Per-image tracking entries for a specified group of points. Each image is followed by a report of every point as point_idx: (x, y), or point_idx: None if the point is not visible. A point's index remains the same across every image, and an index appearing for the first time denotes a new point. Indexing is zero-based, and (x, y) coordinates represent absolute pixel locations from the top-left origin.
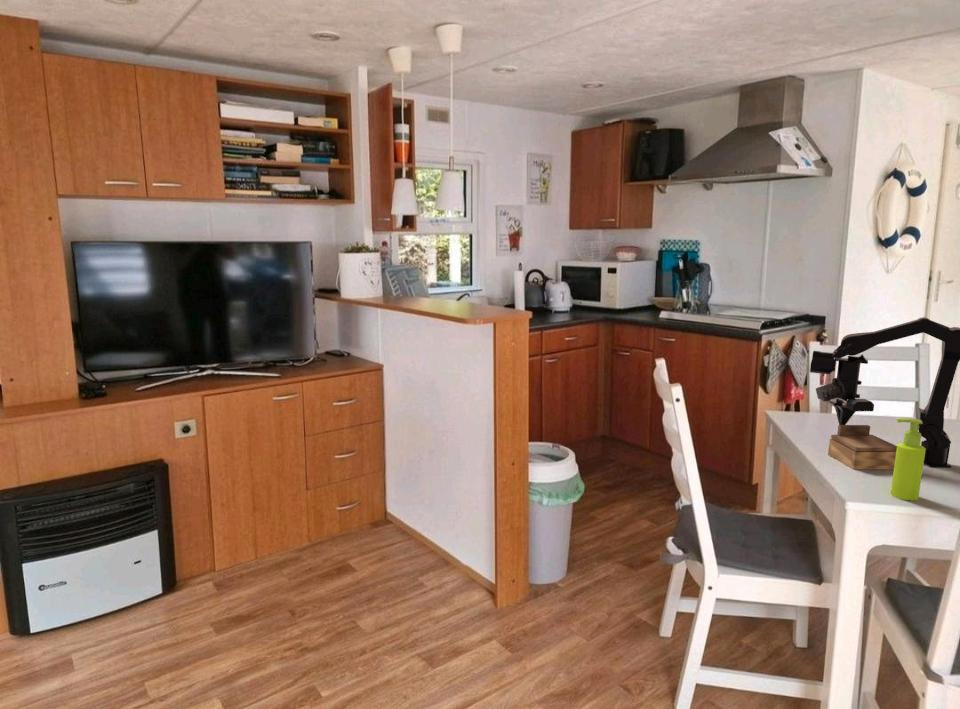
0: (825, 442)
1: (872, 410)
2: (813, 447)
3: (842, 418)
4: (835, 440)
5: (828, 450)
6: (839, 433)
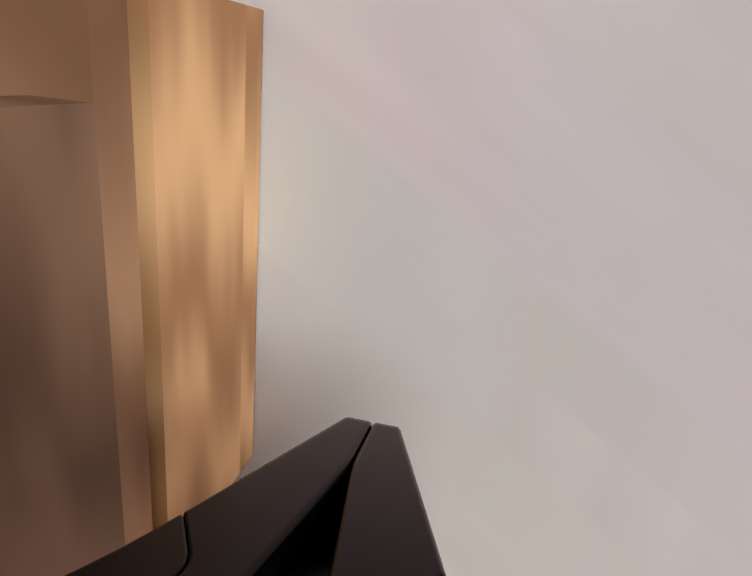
0: (696, 325)
1: None
2: (554, 14)
3: (212, 506)
4: None
5: (239, 3)
6: (9, 99)
